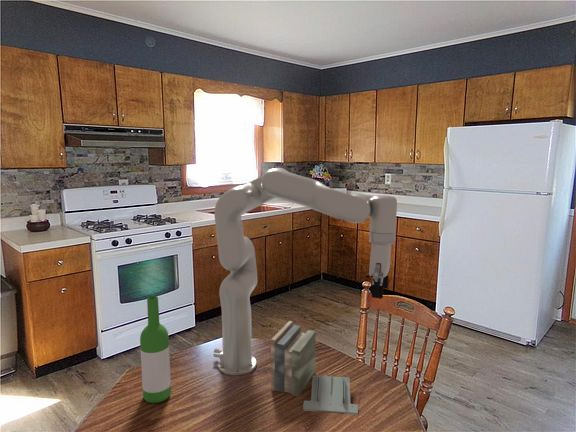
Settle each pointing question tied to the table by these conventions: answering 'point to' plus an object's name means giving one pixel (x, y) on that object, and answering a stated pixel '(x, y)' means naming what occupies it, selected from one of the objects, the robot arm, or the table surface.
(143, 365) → the wine bottle
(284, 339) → the book row
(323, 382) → the metal bracket
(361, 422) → the table surface
